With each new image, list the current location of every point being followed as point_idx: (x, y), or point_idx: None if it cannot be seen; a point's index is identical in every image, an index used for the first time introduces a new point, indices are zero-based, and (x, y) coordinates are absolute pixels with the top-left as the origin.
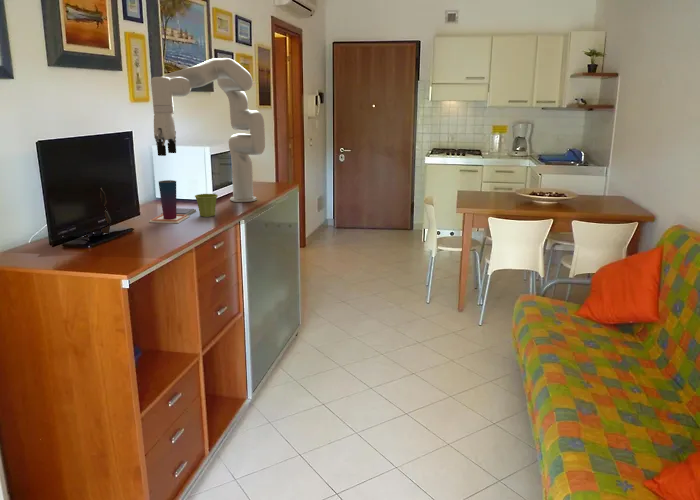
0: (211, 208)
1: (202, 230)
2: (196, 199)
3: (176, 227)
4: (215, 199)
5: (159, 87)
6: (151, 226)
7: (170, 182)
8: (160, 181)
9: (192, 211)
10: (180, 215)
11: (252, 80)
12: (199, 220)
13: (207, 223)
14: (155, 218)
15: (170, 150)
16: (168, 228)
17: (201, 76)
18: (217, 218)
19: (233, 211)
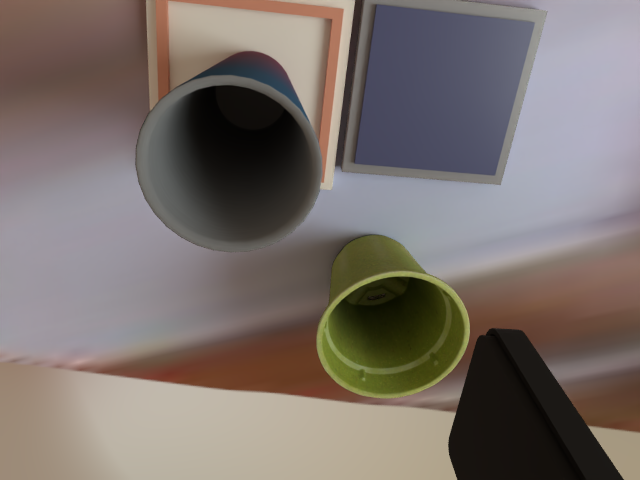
0: (343, 326)
1: (25, 332)
2: (358, 277)
3: (53, 194)
4: (369, 376)
5: None
6: (38, 35)
7: (165, 222)
8: (241, 86)
9: (440, 179)
10: (318, 141)
11: None
12: (247, 261)
13: (181, 315)
14: (202, 4)
15: (483, 405)
16: (17, 158)
17: None
18: (304, 331)
19: None
